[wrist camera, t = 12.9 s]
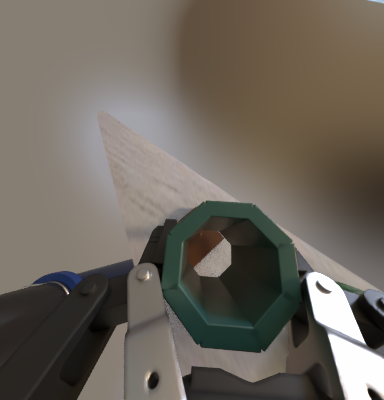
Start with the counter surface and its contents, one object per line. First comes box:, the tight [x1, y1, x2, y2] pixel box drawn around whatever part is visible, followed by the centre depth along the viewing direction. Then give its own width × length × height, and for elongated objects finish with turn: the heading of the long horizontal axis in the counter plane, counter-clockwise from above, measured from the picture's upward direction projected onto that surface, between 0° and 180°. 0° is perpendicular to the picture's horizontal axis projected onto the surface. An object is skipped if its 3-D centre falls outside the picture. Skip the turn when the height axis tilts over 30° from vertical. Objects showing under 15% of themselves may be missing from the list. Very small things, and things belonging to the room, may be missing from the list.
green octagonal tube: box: [161, 201, 302, 353], centre depth 10 cm, size 6×6×8 cm
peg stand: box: [177, 207, 224, 268], centre depth 27 cm, size 9×9×10 cm
